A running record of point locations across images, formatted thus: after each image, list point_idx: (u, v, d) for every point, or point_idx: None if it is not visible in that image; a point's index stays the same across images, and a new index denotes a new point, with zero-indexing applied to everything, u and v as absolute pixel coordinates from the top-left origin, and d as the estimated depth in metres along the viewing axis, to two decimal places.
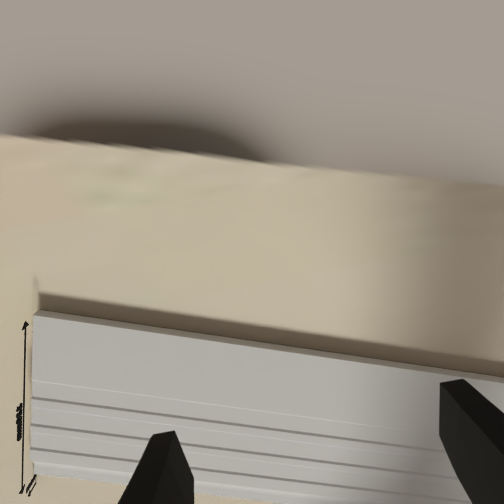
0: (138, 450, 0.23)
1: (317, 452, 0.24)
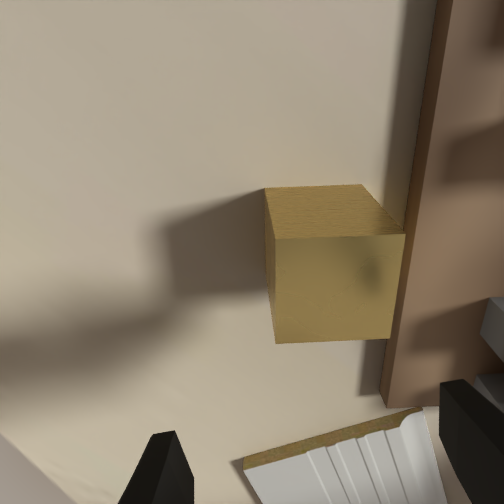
0: None
1: None
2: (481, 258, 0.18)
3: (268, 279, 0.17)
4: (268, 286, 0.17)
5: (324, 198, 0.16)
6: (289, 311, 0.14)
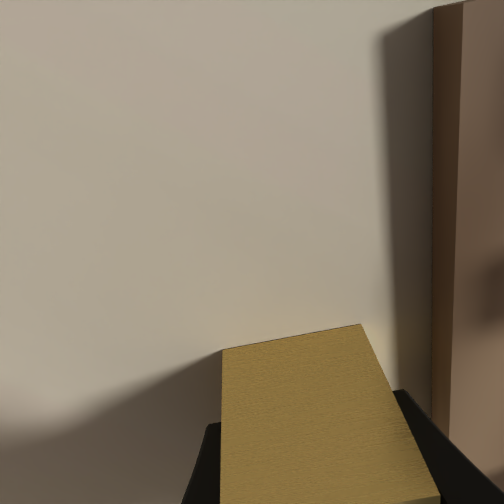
0: None
1: None
2: None
3: None
4: None
5: (306, 375, 0.11)
6: None
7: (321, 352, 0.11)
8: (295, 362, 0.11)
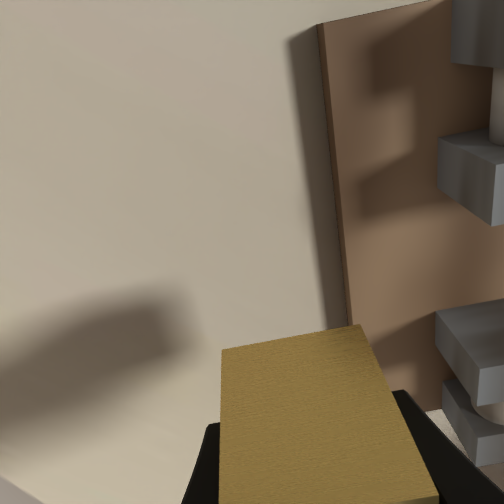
0: None
1: None
2: (417, 277, 0.18)
3: None
4: None
5: (305, 375, 0.11)
6: None
7: (320, 352, 0.11)
8: (294, 362, 0.11)
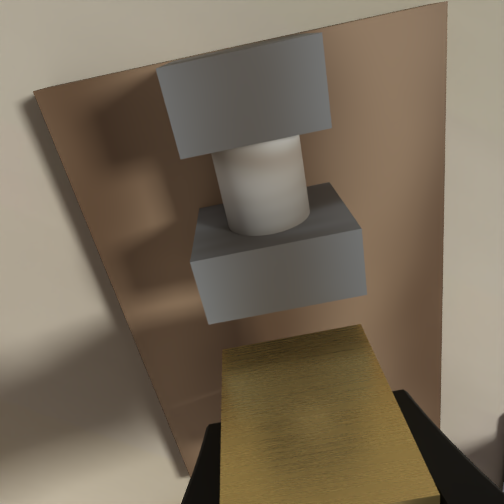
0: None
1: None
2: (217, 350, 0.17)
3: None
4: None
5: (306, 375, 0.11)
6: None
7: (321, 352, 0.11)
8: (295, 362, 0.11)
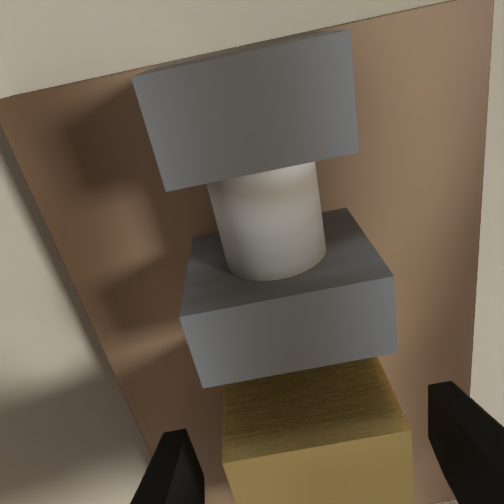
0: None
1: None
2: (214, 395, 0.15)
3: None
4: None
5: None
6: None
7: None
8: None
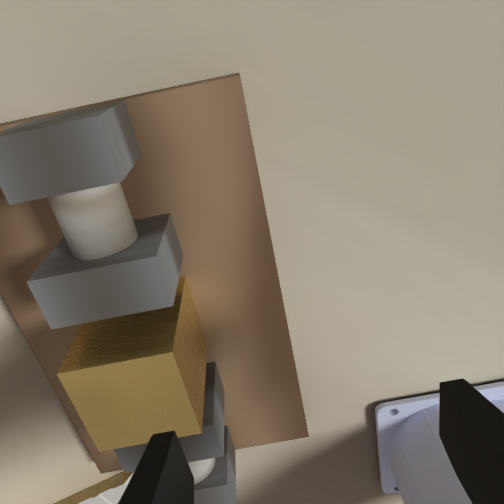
0: None
1: None
2: None
3: None
4: None
5: None
6: (98, 425, 0.15)
7: None
8: None
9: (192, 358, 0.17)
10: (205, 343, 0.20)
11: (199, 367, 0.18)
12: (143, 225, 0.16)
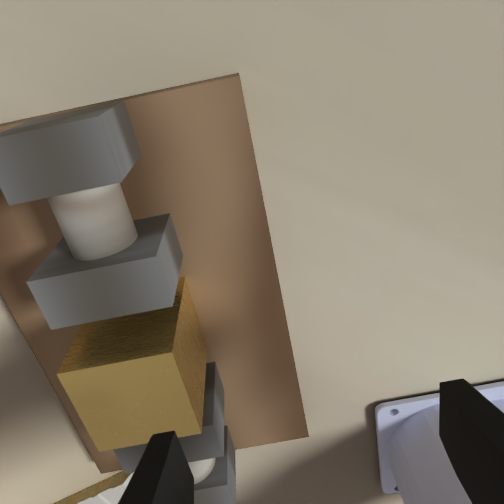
0: None
1: None
2: None
3: None
4: None
5: None
6: (98, 426, 0.15)
7: None
8: None
9: (192, 358, 0.17)
10: (205, 343, 0.20)
11: (199, 367, 0.18)
12: (143, 225, 0.16)
